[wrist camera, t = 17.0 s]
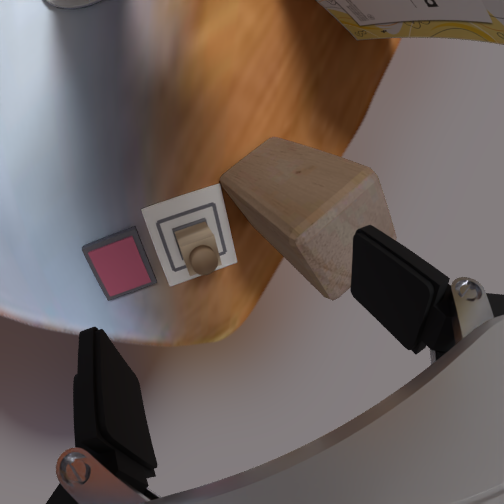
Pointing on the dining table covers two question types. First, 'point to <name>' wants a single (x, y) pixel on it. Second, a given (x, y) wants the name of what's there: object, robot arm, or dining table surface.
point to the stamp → (197, 247)
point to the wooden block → (309, 207)
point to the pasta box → (420, 18)
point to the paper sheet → (183, 212)
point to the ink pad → (119, 263)
